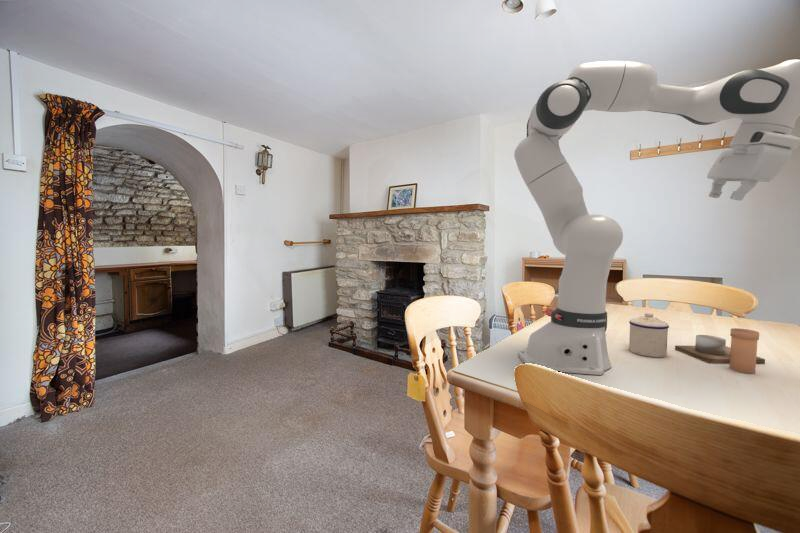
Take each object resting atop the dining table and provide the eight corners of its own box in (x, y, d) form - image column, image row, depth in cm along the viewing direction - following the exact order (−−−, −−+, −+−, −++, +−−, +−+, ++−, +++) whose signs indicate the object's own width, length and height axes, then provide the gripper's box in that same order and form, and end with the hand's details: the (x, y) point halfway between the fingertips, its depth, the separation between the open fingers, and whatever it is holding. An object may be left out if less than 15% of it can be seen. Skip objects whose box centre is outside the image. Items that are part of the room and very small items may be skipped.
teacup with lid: (676, 358, 88) (678, 316, 87) (641, 357, 88) (642, 316, 88) (646, 344, 99) (647, 308, 99) (615, 344, 100) (617, 307, 99)
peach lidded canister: (741, 374, 77) (744, 333, 76) (722, 366, 82) (725, 328, 81) (762, 374, 77) (765, 333, 76) (742, 366, 81) (744, 328, 81)
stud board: (708, 363, 84) (709, 343, 84) (675, 349, 95) (675, 332, 94) (764, 363, 83) (766, 344, 83) (724, 349, 94) (725, 332, 94)
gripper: (717, 142, 85) (689, 193, 90) (772, 132, 67) (733, 197, 71) (744, 147, 84) (714, 199, 88) (809, 139, 65) (767, 205, 70)
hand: (723, 198), depth 80 cm, fingers open, 8 cm apart
